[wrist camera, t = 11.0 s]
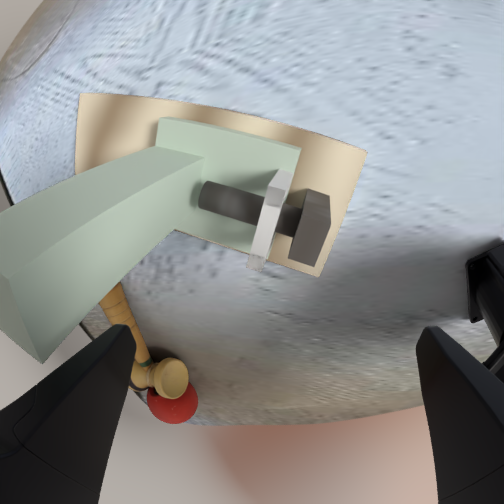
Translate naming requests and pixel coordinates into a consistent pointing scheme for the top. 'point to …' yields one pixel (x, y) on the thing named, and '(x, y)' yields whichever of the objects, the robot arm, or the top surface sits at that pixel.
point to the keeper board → (140, 132)
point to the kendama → (153, 368)
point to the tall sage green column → (130, 223)
